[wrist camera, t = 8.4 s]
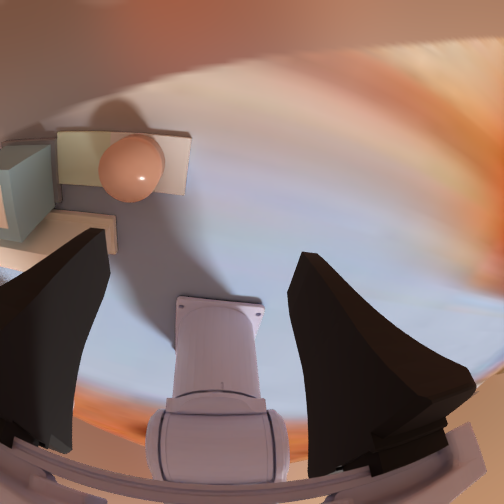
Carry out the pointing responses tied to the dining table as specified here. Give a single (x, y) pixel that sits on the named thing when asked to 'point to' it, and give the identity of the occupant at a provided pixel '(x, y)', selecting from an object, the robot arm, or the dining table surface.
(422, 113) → the dining table surface
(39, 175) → the blue-grey cube
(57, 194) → the pad
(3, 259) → the tan rectangular block
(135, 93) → the dining table surface
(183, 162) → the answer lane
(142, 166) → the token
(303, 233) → the dining table surface
